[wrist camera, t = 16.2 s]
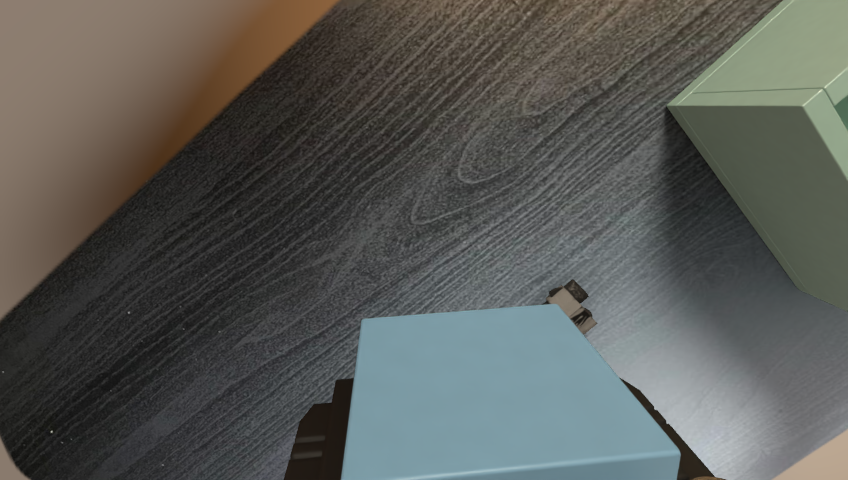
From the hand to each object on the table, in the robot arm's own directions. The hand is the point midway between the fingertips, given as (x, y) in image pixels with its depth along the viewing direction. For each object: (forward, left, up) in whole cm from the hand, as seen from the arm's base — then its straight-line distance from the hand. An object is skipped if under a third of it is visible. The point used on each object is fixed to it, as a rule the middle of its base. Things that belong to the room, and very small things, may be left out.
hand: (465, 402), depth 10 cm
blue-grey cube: (0, 0, 0) cm, 0 cm away
